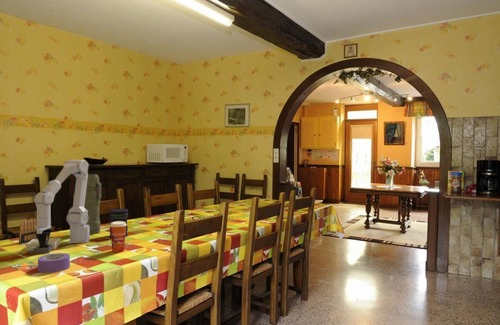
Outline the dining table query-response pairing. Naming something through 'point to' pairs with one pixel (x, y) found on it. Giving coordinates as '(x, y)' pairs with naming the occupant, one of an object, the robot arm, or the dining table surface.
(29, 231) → the ammunition clip
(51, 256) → the tape roll
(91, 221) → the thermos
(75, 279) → the dining table surface
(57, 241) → the trough tray
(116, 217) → the storage jar
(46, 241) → the battery cell
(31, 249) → the checker cradle
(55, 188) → the robot arm
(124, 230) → the paper cup
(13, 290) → the dining table surface
